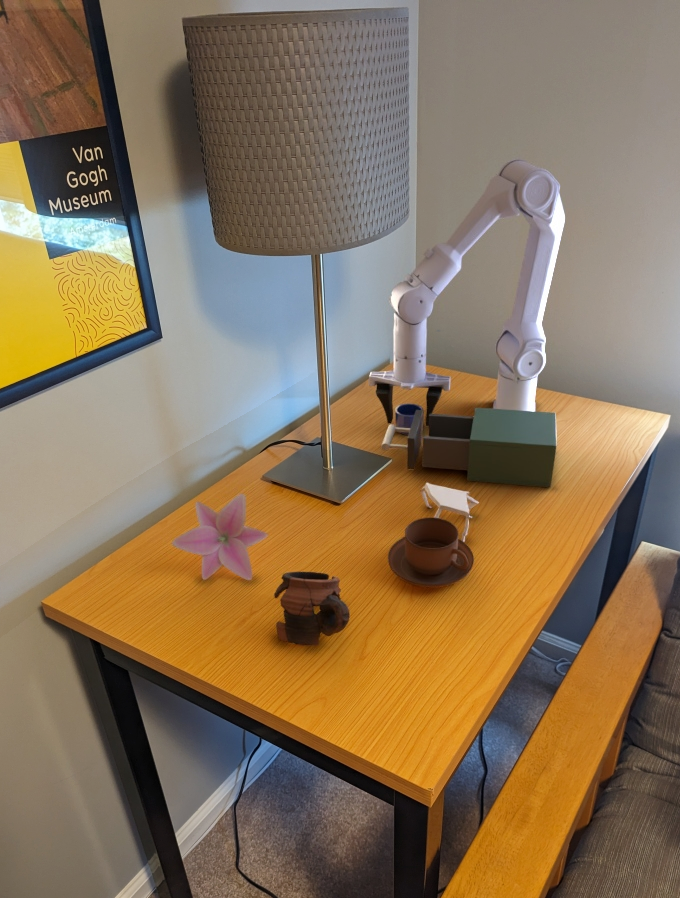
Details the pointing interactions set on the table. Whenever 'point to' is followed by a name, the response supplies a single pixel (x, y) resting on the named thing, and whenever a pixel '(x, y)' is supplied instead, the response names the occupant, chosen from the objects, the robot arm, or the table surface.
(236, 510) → the lily
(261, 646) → the table surface
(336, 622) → the pottery mug
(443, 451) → the drawer
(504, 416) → the sage green box
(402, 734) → the table surface
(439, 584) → the cup and saucer
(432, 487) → the origami figure
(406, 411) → the blue cup
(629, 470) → the table surface
